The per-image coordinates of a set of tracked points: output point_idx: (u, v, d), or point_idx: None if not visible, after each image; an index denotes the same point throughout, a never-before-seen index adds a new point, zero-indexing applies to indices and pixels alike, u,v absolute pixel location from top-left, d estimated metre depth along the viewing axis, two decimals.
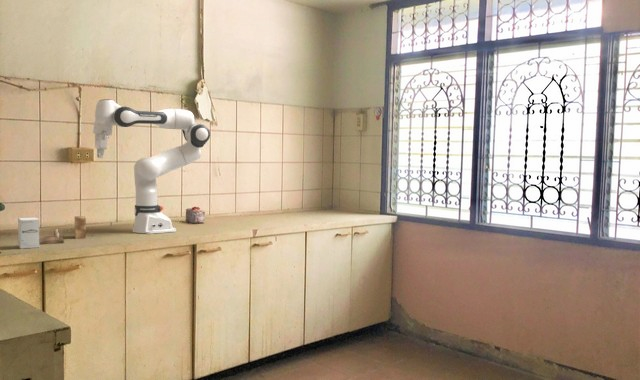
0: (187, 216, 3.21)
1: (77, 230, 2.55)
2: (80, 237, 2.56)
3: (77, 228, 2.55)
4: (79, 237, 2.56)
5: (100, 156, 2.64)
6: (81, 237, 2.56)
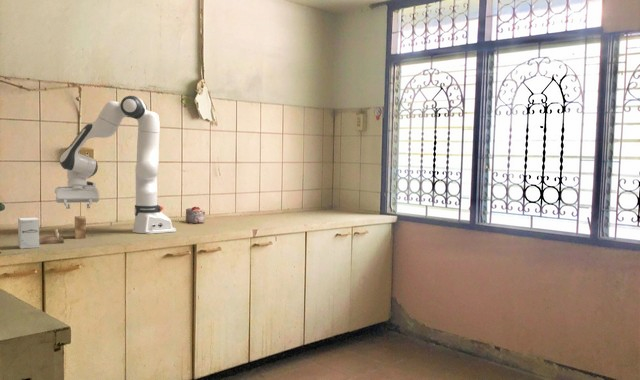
0: (187, 216, 3.21)
1: (77, 230, 2.55)
2: (80, 237, 2.56)
3: (77, 228, 2.55)
4: (79, 237, 2.56)
5: (66, 207, 2.65)
6: (81, 237, 2.56)
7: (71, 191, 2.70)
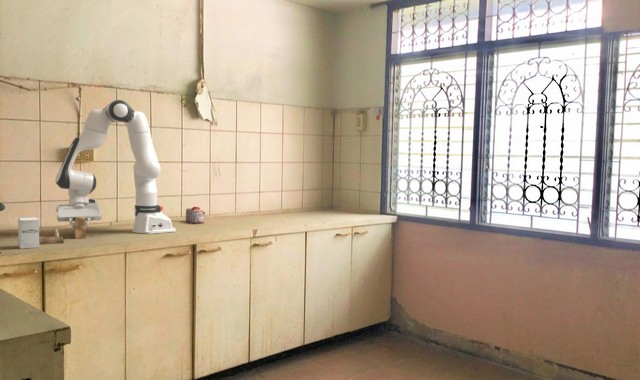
0: (187, 216, 3.21)
1: (77, 230, 2.55)
2: (80, 237, 2.56)
3: (77, 228, 2.55)
4: (79, 237, 2.56)
5: None
6: (81, 237, 2.56)
7: (73, 209, 2.61)
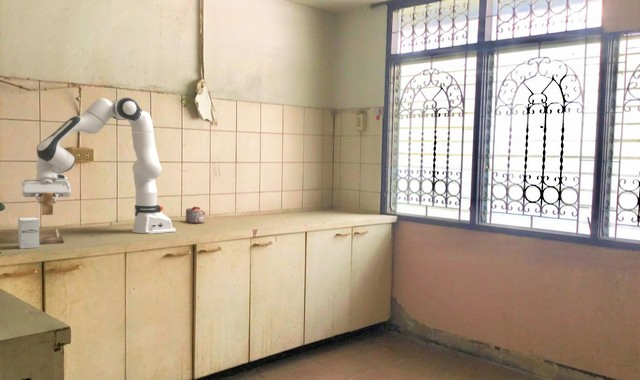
0: (187, 216, 3.21)
1: (43, 206, 2.42)
2: (46, 213, 2.42)
3: (43, 204, 2.42)
4: (45, 213, 2.42)
5: (38, 201, 2.44)
6: (47, 213, 2.43)
7: (40, 184, 2.48)
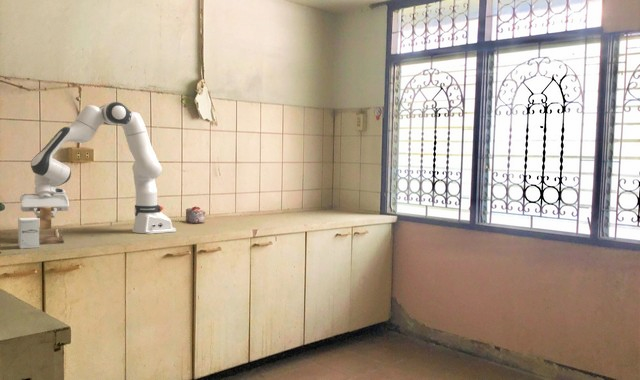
0: (187, 216, 3.21)
1: (42, 220, 2.41)
2: (45, 228, 2.42)
3: (42, 218, 2.41)
4: (44, 228, 2.42)
5: None
6: (46, 228, 2.42)
7: (38, 199, 2.47)
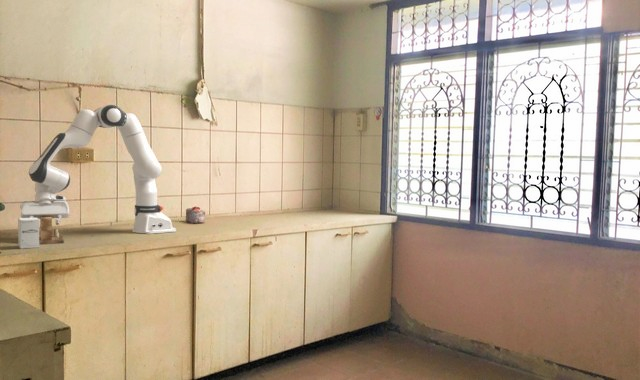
0: (187, 216, 3.21)
1: (42, 231, 2.42)
2: (46, 238, 2.43)
3: (42, 229, 2.42)
4: (45, 238, 2.42)
5: None
6: (47, 238, 2.43)
7: (38, 206, 2.48)
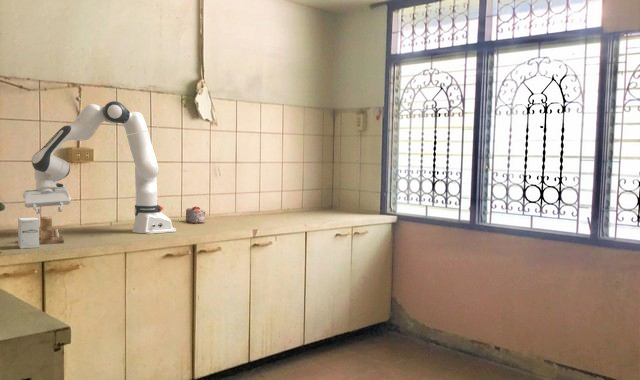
0: (187, 216, 3.21)
1: (42, 231, 2.42)
2: (46, 238, 2.43)
3: (42, 229, 2.42)
4: (45, 238, 2.42)
5: (36, 212, 2.54)
6: (47, 238, 2.43)
7: (40, 194, 2.58)
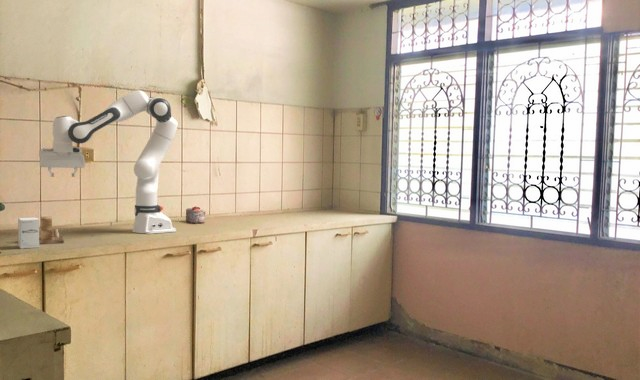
0: (187, 216, 3.21)
1: (42, 231, 2.42)
2: (46, 238, 2.43)
3: (42, 229, 2.42)
4: (45, 238, 2.42)
5: None
6: (47, 238, 2.43)
7: (56, 157, 2.60)
